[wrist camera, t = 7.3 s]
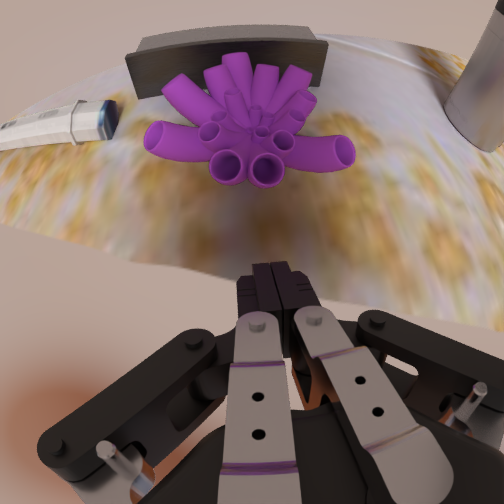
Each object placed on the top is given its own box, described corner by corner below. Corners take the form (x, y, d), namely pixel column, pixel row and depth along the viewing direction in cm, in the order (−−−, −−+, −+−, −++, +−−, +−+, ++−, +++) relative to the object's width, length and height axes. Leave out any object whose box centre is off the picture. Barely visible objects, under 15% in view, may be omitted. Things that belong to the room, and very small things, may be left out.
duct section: (306, 60, 28) (313, 22, 22) (319, 86, 26) (328, 44, 20) (147, 71, 27) (137, 34, 22) (138, 99, 25) (124, 58, 20)
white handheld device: (96, 123, 19) (-59, 154, 15) (114, 170, 25) (-35, 182, 21) (116, 85, 21) (-41, 121, 17) (127, 132, 27) (-20, 151, 23)
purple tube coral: (234, 242, 23) (131, 201, 15) (223, 115, 28) (157, 66, 21) (372, 188, 17) (306, 89, 9) (315, 63, 22) (257, -9, 15)
